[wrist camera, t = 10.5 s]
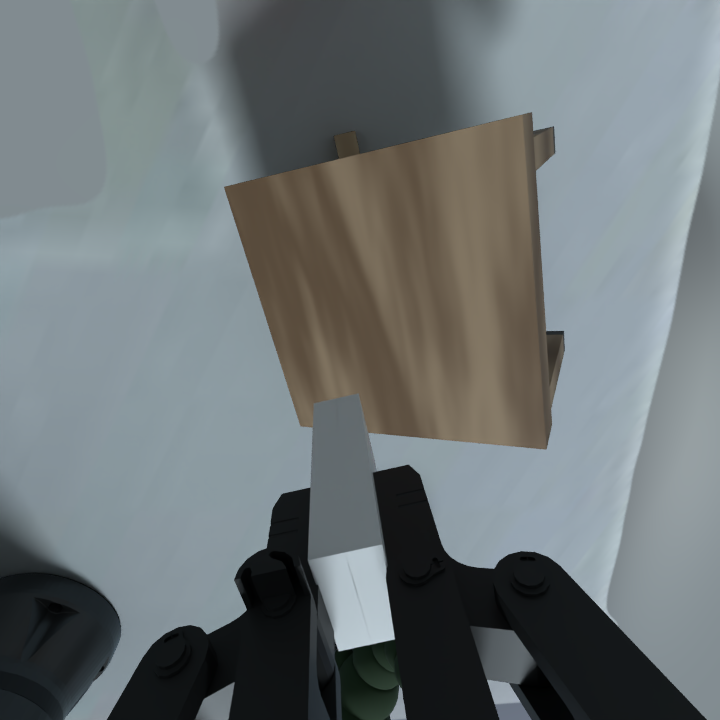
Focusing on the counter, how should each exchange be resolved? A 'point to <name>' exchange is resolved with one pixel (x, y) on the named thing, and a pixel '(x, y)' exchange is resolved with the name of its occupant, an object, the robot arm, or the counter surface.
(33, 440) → the counter surface
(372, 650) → the toy figurine
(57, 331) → the counter surface
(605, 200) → the counter surface
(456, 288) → the footstool
